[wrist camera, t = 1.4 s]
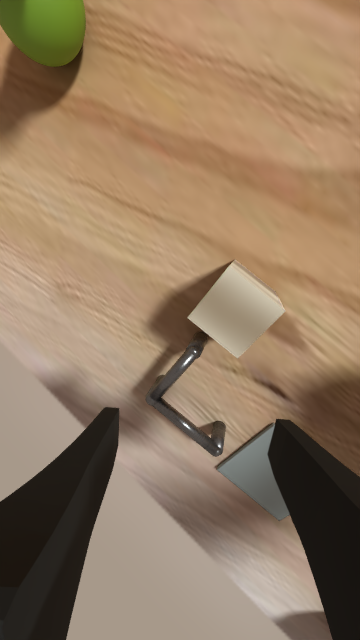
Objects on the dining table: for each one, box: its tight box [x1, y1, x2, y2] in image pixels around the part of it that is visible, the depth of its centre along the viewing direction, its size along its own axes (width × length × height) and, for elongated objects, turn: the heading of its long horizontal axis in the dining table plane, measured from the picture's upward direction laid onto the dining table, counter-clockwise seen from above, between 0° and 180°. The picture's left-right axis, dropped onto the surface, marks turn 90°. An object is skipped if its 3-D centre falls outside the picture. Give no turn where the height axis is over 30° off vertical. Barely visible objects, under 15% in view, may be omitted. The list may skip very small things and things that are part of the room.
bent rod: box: [146, 332, 226, 457], centre depth 21 cm, size 7×8×4 cm
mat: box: [217, 423, 290, 521], centre depth 24 cm, size 8×8×1 cm
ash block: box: [188, 260, 285, 358], centre depth 17 cm, size 4×4×6 cm
